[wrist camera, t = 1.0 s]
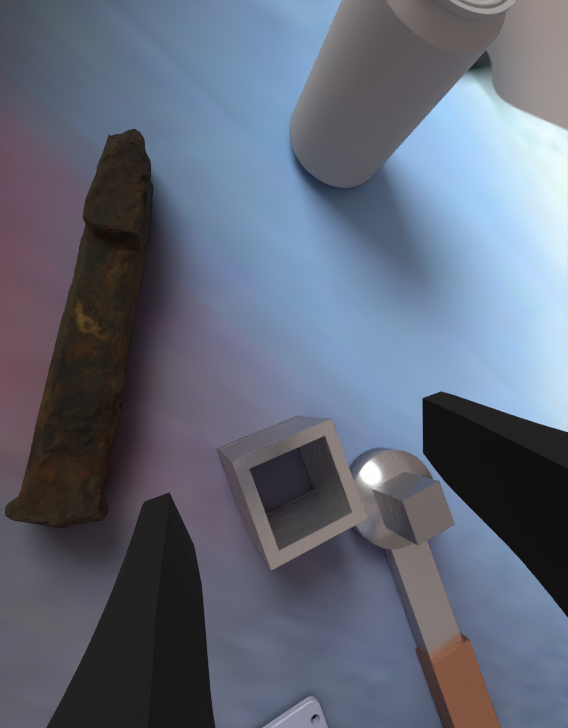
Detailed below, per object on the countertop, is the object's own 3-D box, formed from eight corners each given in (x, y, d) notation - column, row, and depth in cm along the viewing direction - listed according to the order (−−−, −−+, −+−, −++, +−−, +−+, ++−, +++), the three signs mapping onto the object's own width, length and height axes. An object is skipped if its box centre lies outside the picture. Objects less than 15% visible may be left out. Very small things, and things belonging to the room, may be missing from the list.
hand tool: (110, 512, 20) (95, 542, 15) (22, 502, 19) (-21, 533, 14) (191, 181, 23) (197, 127, 18) (119, 156, 22) (108, 93, 17)
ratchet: (328, 469, 23) (365, 484, 19) (402, 434, 25) (452, 440, 21) (447, 802, 23) (511, 892, 19) (513, 743, 25) (585, 814, 21)
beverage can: (284, 185, 24) (392, -12, 13) (286, 91, 25) (388, -176, 13) (375, 201, 26) (539, 43, 15) (374, 113, 27) (530, -104, 15)
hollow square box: (325, 495, 23) (367, 518, 18) (247, 533, 21) (270, 570, 17) (296, 415, 23) (331, 418, 18) (217, 448, 21) (231, 461, 17)
